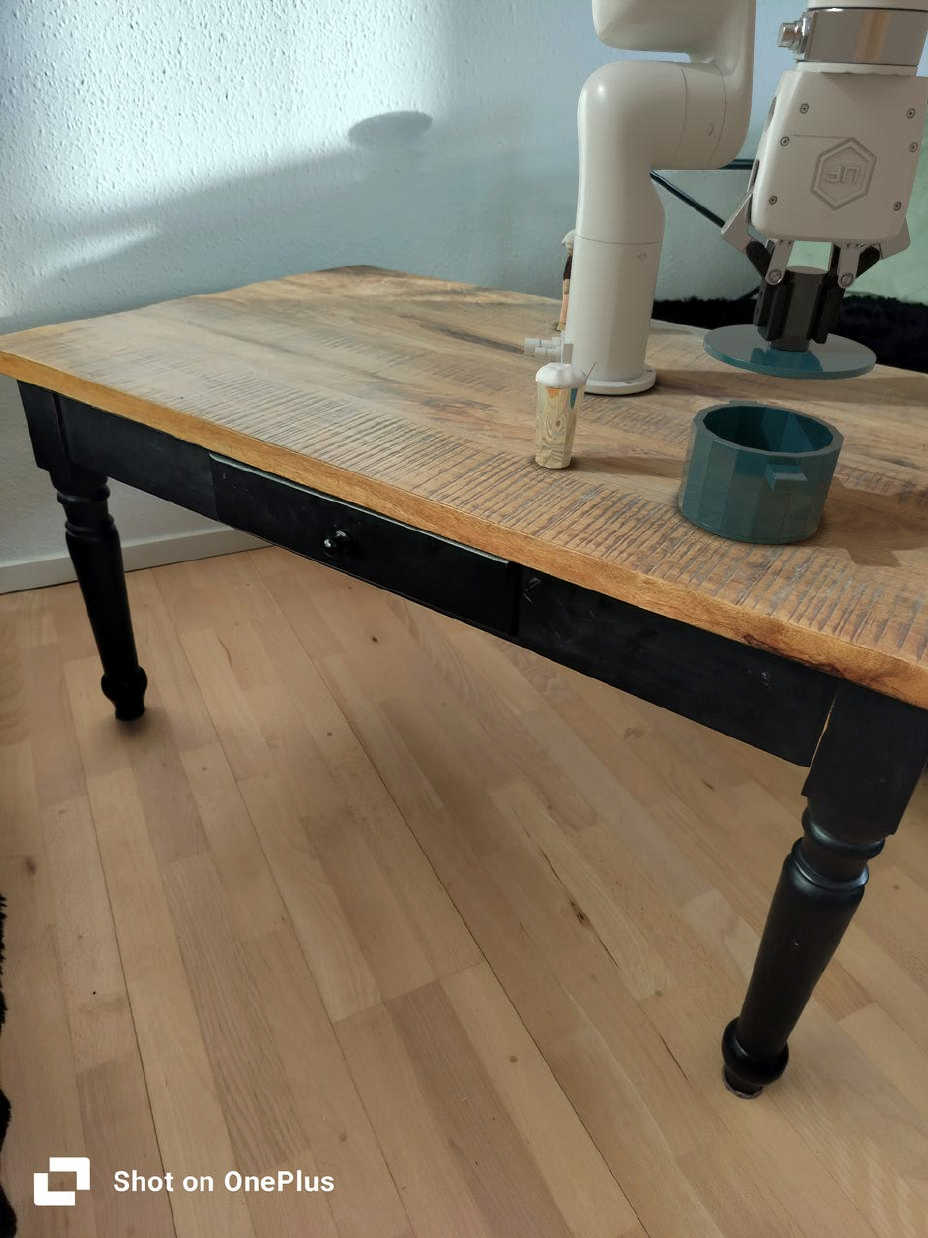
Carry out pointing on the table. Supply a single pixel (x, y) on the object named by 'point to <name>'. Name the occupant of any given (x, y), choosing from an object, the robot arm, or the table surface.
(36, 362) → the table surface
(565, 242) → the grandmother figurine
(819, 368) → the lid
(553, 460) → the milkshake
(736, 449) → the pot
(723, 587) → the table surface
